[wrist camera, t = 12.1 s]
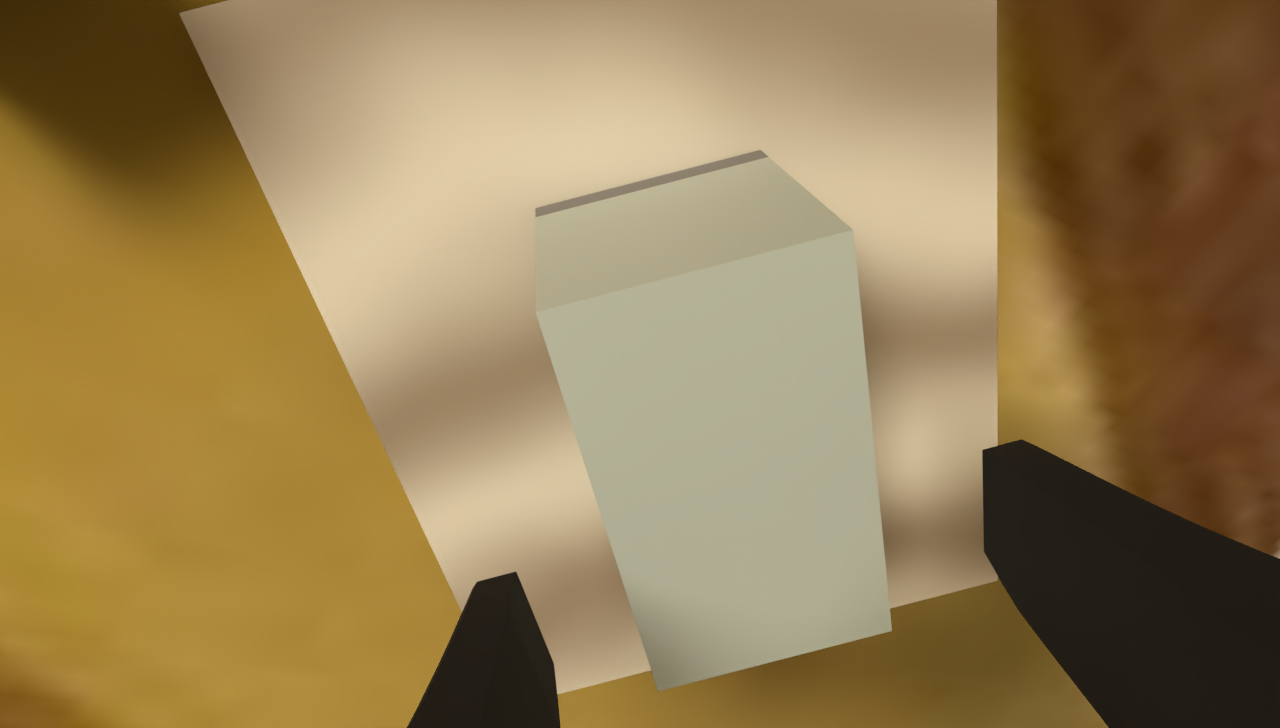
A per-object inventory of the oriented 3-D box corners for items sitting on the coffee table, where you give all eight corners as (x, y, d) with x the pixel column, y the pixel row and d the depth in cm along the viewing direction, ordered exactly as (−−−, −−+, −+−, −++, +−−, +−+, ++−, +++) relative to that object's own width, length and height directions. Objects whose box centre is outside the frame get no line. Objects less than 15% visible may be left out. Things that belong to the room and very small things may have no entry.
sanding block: (808, 473, 19) (891, 630, 14) (629, 520, 19) (658, 691, 14) (760, 149, 15) (853, 229, 11) (535, 208, 15) (534, 312, 11)
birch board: (976, 551, 22) (998, 582, 21) (508, 672, 23) (506, 709, 21) (961, -188, 14) (998, -201, 13) (205, 9, 14) (177, 13, 13)
